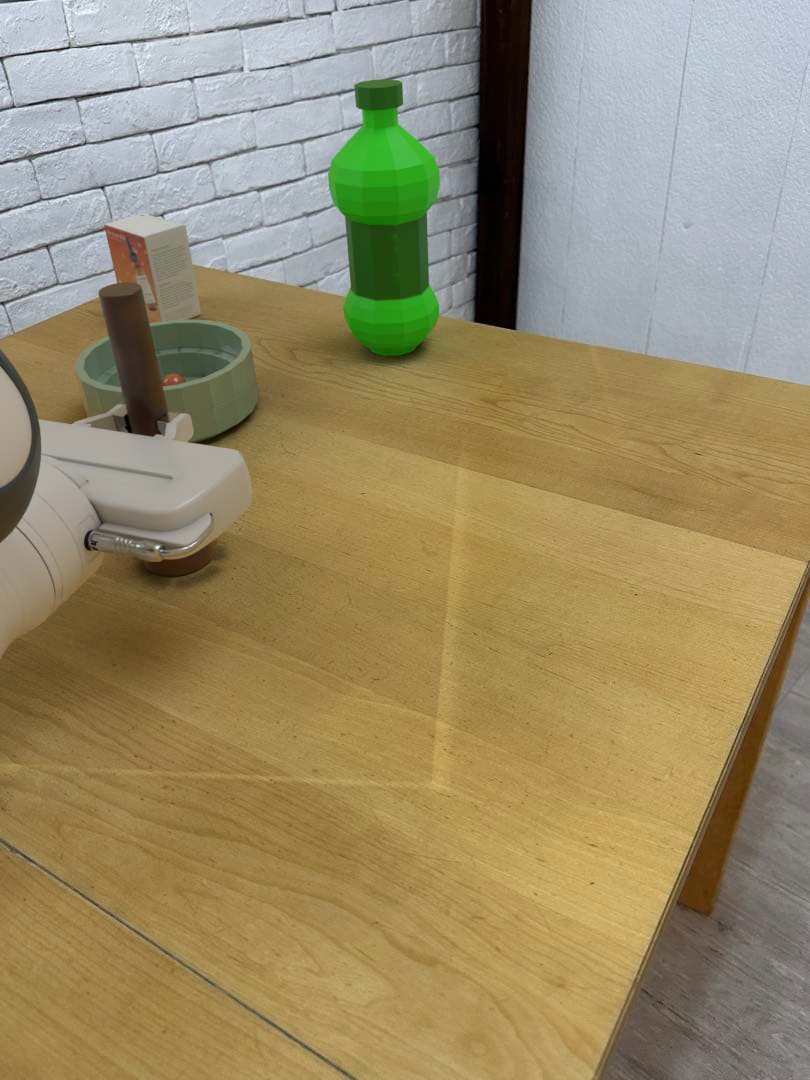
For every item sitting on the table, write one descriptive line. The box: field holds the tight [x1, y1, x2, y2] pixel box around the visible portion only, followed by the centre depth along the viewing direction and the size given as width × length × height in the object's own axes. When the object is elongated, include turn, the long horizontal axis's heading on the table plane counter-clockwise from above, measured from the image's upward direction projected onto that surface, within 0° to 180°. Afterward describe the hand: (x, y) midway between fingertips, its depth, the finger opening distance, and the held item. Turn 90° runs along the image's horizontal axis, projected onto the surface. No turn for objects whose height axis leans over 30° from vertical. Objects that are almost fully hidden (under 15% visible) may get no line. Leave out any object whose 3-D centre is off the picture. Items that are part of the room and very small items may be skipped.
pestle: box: [97, 282, 216, 577], centre depth 61 cm, size 5×5×20 cm
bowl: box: [74, 319, 260, 444], centre depth 84 cm, size 16×16×6 cm
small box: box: [103, 212, 202, 323], centre depth 102 cm, size 8×6×10 cm
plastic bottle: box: [327, 78, 441, 357], centre depth 88 cm, size 10×10×25 cm
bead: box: [162, 373, 186, 386], centre depth 85 cm, size 2×2×2 cm
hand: (157, 418), depth 61 cm, fingers closed on pestle, 3 cm apart
